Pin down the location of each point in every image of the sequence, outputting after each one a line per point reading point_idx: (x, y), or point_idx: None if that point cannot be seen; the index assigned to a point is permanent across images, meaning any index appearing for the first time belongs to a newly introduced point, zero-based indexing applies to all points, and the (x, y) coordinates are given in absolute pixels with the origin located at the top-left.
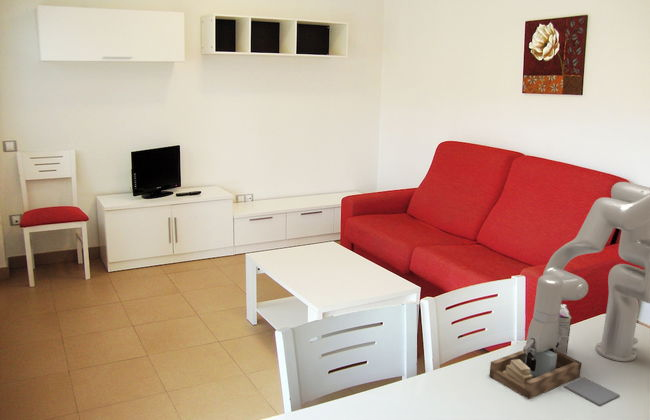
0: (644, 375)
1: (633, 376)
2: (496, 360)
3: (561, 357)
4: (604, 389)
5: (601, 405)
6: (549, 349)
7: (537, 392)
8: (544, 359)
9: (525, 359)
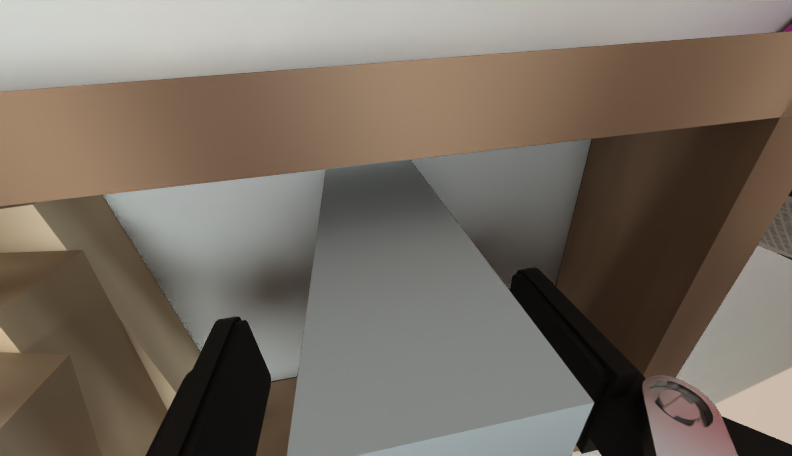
0: (753, 385)
1: (723, 383)
2: None
3: (642, 335)
4: None
5: None
6: (616, 436)
7: None
8: None
9: (320, 217)
